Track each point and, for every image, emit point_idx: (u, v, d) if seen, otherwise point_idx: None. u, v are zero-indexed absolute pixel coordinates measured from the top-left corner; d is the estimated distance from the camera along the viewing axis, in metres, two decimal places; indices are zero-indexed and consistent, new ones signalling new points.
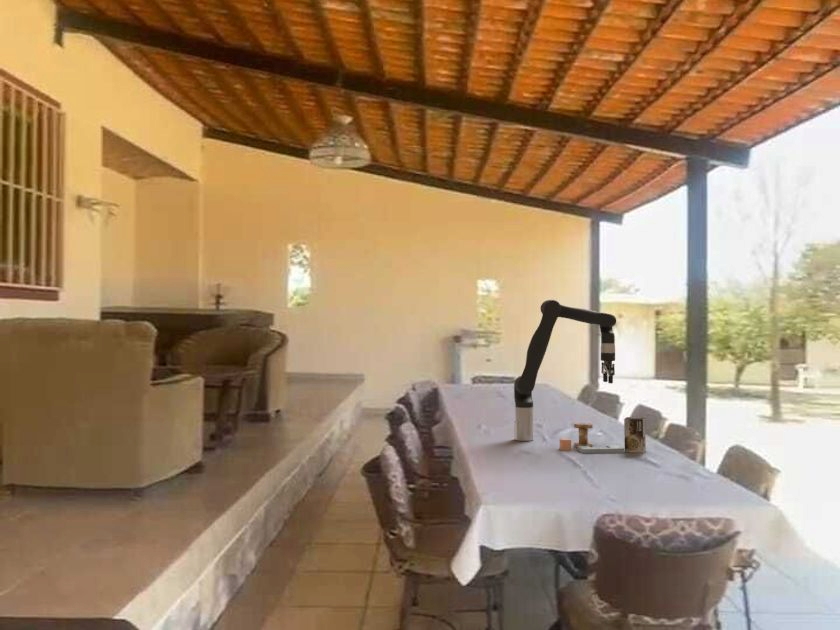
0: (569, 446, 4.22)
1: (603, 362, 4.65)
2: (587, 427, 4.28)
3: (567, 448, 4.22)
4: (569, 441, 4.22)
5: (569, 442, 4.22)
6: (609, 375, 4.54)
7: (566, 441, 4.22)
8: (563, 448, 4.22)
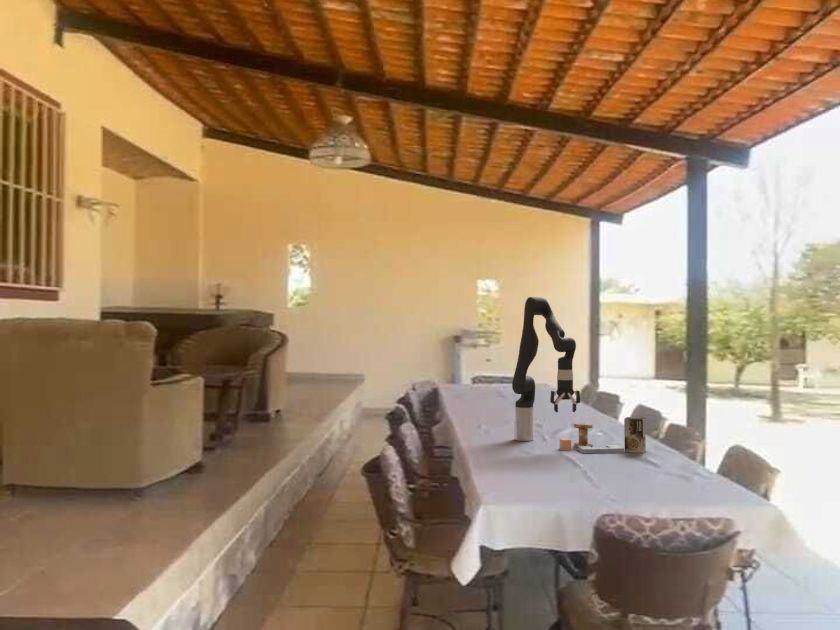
0: (569, 446, 4.22)
1: (553, 391, 4.23)
2: (587, 427, 4.28)
3: (567, 448, 4.22)
4: (569, 441, 4.22)
5: (569, 442, 4.22)
6: (576, 403, 4.24)
7: (566, 441, 4.22)
8: (563, 448, 4.22)
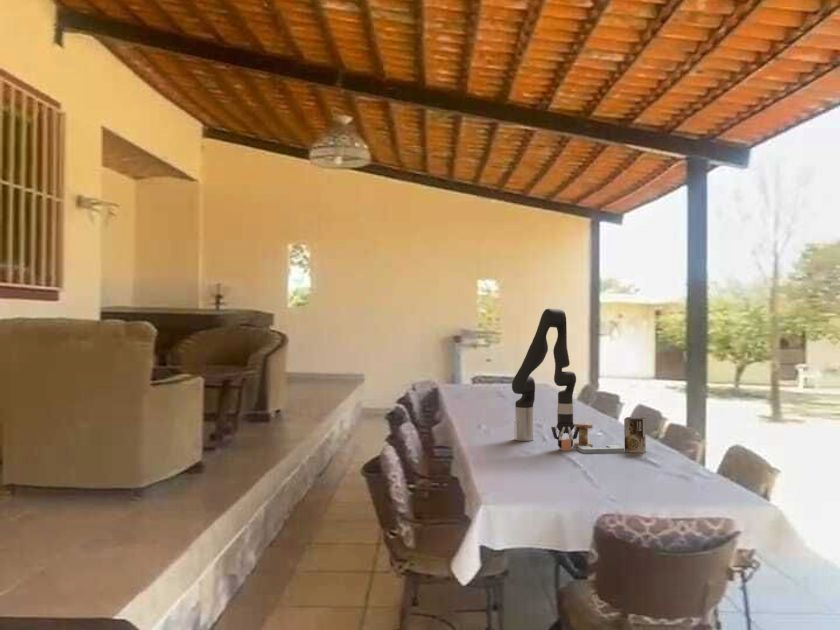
0: (569, 446, 4.22)
1: (553, 427, 4.23)
2: (587, 427, 4.28)
3: (567, 448, 4.22)
4: (569, 441, 4.22)
5: (569, 442, 4.22)
6: (572, 439, 4.24)
7: (566, 441, 4.22)
8: (563, 448, 4.22)
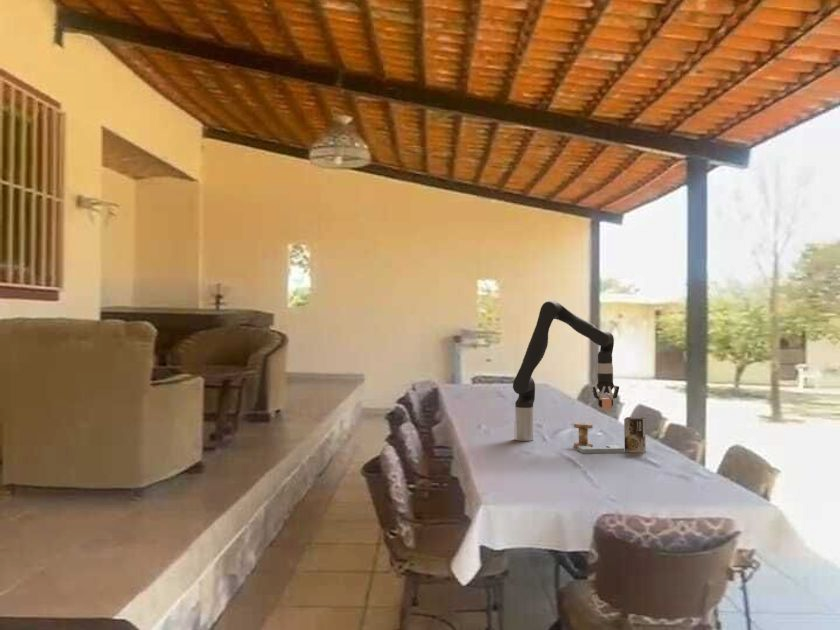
0: (609, 405, 4.28)
1: None
2: (587, 427, 4.28)
3: (607, 407, 4.28)
4: (609, 400, 4.28)
5: (609, 401, 4.28)
6: (613, 398, 4.29)
7: (606, 400, 4.27)
8: (604, 407, 4.27)
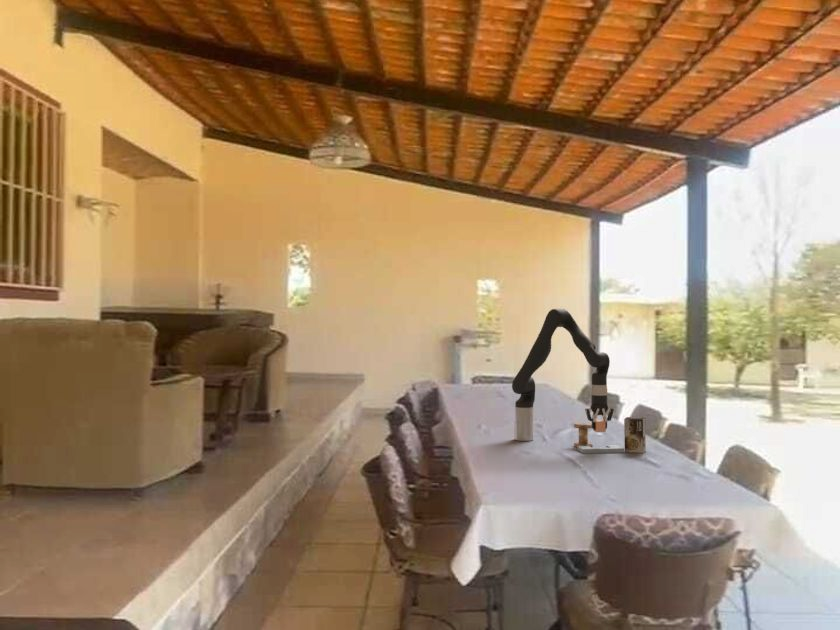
0: (603, 428, 4.17)
1: None
2: (587, 427, 4.28)
3: (601, 430, 4.17)
4: (603, 423, 4.17)
5: (603, 424, 4.17)
6: (607, 421, 4.19)
7: (600, 423, 4.17)
8: (597, 430, 4.17)
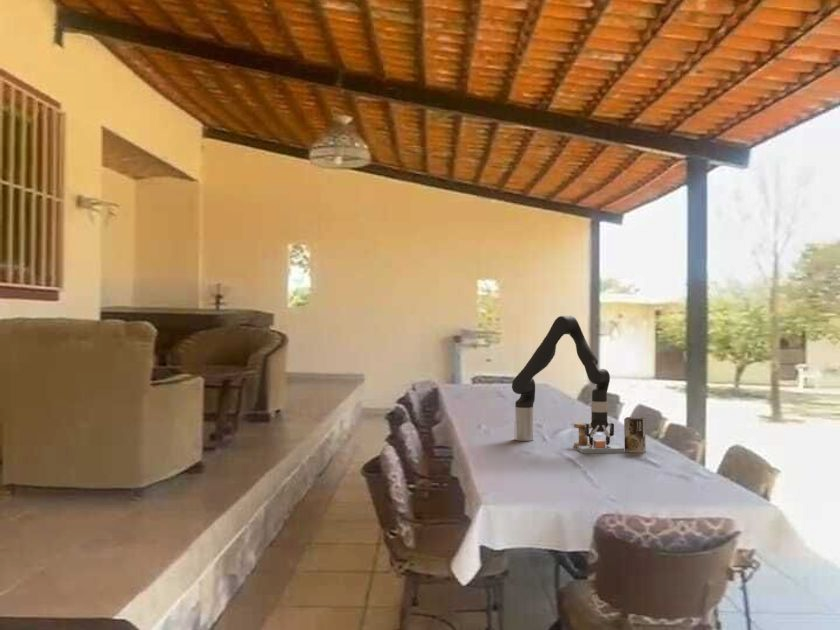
0: (603, 447, 4.17)
1: None
2: None
3: None
4: (603, 442, 4.17)
5: (603, 443, 4.17)
6: (609, 436, 4.19)
7: (600, 442, 4.17)
8: None
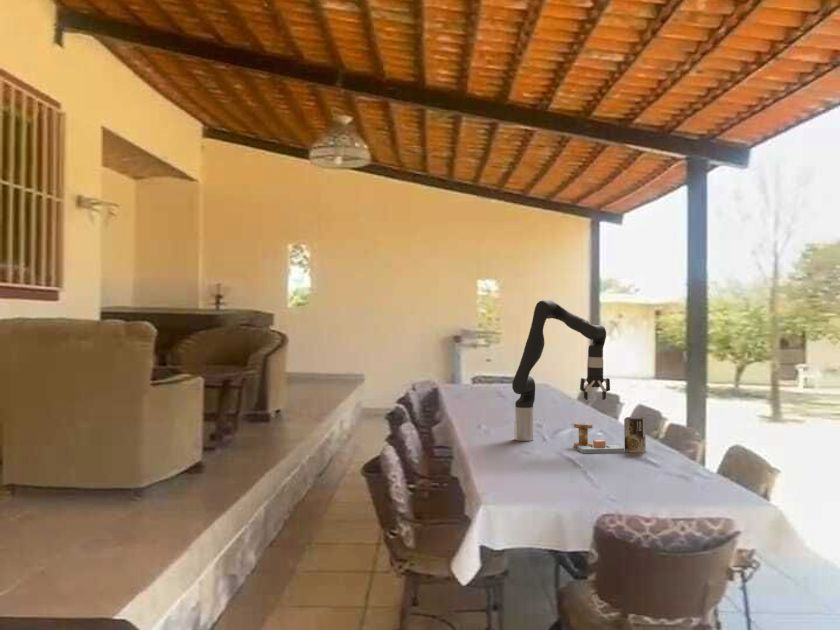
0: (603, 447, 4.17)
1: None
2: (587, 427, 4.28)
3: None
4: (603, 442, 4.17)
5: (603, 443, 4.17)
6: (606, 391, 4.22)
7: (600, 442, 4.17)
8: None
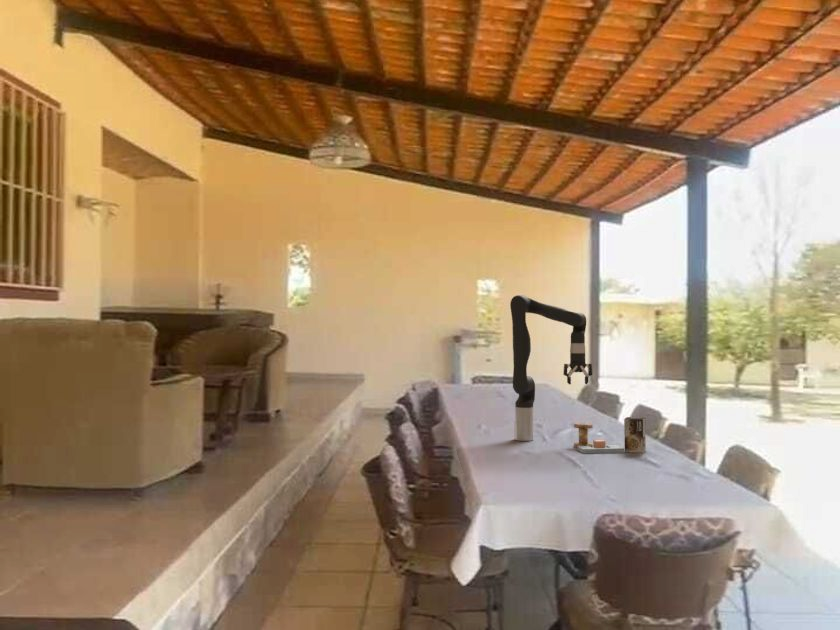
0: (603, 447, 4.17)
1: (566, 364, 4.40)
2: (587, 427, 4.28)
3: None
4: (603, 442, 4.17)
5: (603, 443, 4.17)
6: (588, 375, 4.41)
7: (600, 442, 4.17)
8: None
